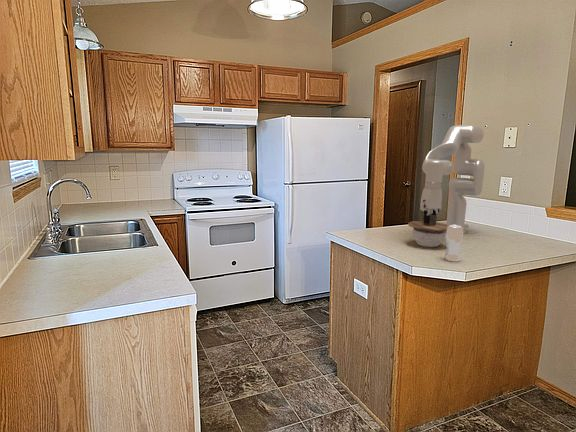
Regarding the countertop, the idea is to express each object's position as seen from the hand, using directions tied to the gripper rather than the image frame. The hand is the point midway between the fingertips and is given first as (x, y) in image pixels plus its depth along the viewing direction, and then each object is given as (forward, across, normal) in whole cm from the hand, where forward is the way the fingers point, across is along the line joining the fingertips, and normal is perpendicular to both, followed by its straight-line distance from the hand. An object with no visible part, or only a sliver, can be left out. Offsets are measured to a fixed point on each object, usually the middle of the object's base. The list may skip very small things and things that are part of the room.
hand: (429, 222), depth 191 cm
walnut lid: (+2, 0, 0) cm, 2 cm away
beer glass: (+12, +10, +23) cm, 28 cm away
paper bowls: (+12, 0, 0) cm, 12 cm away
